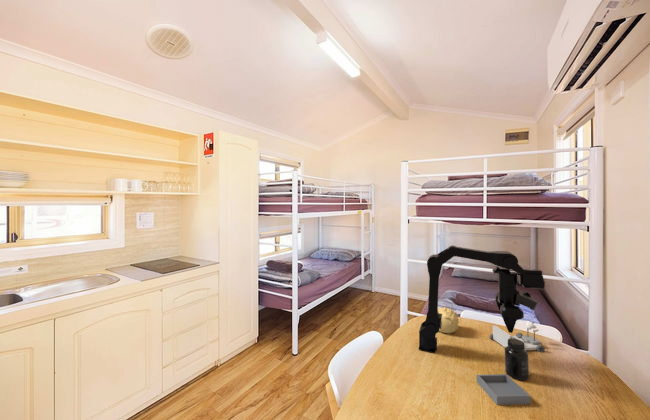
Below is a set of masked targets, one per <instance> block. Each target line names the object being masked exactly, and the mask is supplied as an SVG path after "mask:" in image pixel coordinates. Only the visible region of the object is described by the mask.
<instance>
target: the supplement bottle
mask: <svg viewBox="0 0 650 420" xmlns="http://www.w3.org/2000/svg"><path fill="white" fill-rule="evenodd" d="M524 349H525V346H524V342H522V341H521V340H518V339H512V338H510V339H508V346H506V347H504V372H505V374H506V375H508V376H509V377H510V378H511V379H512V380H517V381H521V382H524V381H528V380H529V378H530V367H529V366H530V365H529V363H530V362H529V353H528V351H527V350H524Z"/></svg>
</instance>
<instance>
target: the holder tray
mask: <svg viewBox="0 0 650 420" xmlns="http://www.w3.org/2000/svg"><path fill="white" fill-rule="evenodd" d="M476 383H477V384H478V386H480V387H481V389H482V390H483V391H484V392H485V393H486V395H487V396H488V397H489V398H490V399H492V401H493V402H494V403H495V404H496V405H498V406H501V405H502V406H503V405H507V406H509V405H531V395H530V394H529V393H528V392H527V391H525V390H524V388H522V387H521V386H520V385H519V384H518V383H517V382H516V381H515V380H514V379H513V378H511V377H510V376H508V375H507V374H506V373H503V374H501V373H500V374H498V373H497V374H476Z"/></svg>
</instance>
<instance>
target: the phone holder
mask: <svg viewBox="0 0 650 420" xmlns="http://www.w3.org/2000/svg"><path fill="white" fill-rule="evenodd" d="M525 324H526V325H525V326H526V330H527V331H526V332H527V334H526V335H525V334H523V333H521V332H517V333H516V334H515V335H511V334H509V332H506V331H504V330H503V329H501V328H500V327H498V326H497V325H495V324H494V325H492V333H490V334H489V339H490V340H491V341H495V342H497V343H498V344H500V345H502V346H503V348H505V347H506V346H508V339H510V338H512V339H518V340H521V341H522V342H524V346H525V349H524V350H525V351H537V352H538V353H545V350H546V348H545V347H544V346H543V345H542V343H543V342H542V341H541V340H539V339H537V338H536V333H537V332H539V329H537V328H538V327H537V326H536V325H535V321H532V322H531V321H529V320H526V322H525ZM529 330H530V331H531V332H533V336H531V335H530V334H529Z"/></svg>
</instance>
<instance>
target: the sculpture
mask: <svg viewBox="0 0 650 420" xmlns="http://www.w3.org/2000/svg"><path fill="white" fill-rule="evenodd" d="M438 312H439V314H442V319H441V321H442V326H441V329H440V328H439V332H441V333H444V334H453V333H454V332H456V331H457V330H458V328H459V316H458V314H457V312H456V311H455V310H453V309H451V308H449V307H446V306H444V307H440V308H439V307H438Z"/></svg>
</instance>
